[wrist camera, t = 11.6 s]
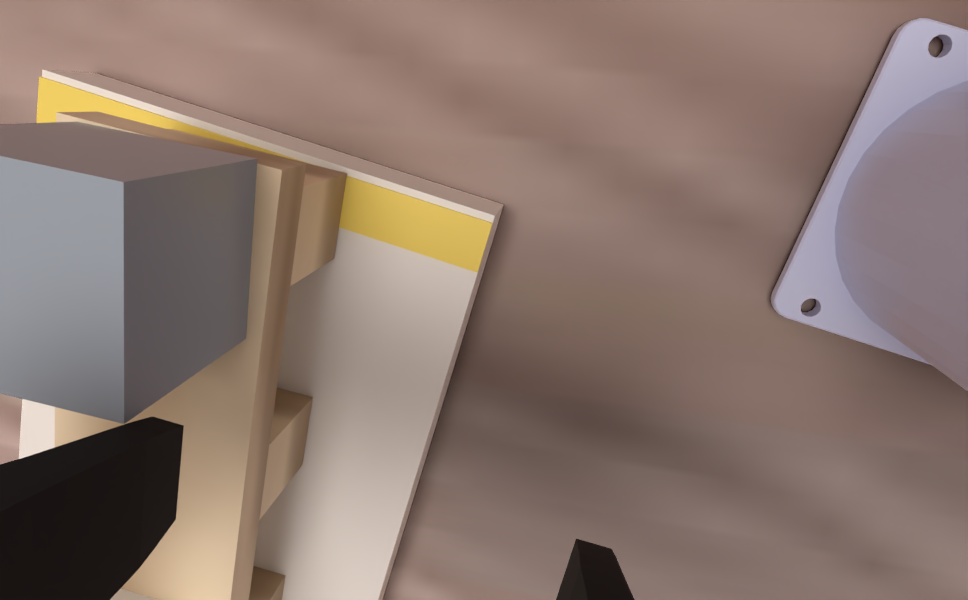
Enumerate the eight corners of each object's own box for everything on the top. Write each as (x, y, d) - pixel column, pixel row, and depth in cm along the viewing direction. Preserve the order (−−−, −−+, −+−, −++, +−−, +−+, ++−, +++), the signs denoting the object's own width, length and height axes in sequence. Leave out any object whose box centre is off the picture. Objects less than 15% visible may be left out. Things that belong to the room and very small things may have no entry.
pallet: (350, 154, 17) (282, 169, 13) (275, 640, 22) (212, 751, 18) (172, 110, 17) (55, 111, 13) (142, 599, 23) (53, 699, 19)
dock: (503, 204, 19) (494, 216, 17) (372, 634, 24) (352, 681, 22) (95, 73, 19) (39, 69, 17) (56, 519, 25) (10, 556, 23)
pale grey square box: (257, 158, 13) (123, 181, 9) (246, 338, 14) (124, 424, 10) (76, 121, 13) (-125, 129, 10) (81, 300, 15) (-95, 369, 11)
